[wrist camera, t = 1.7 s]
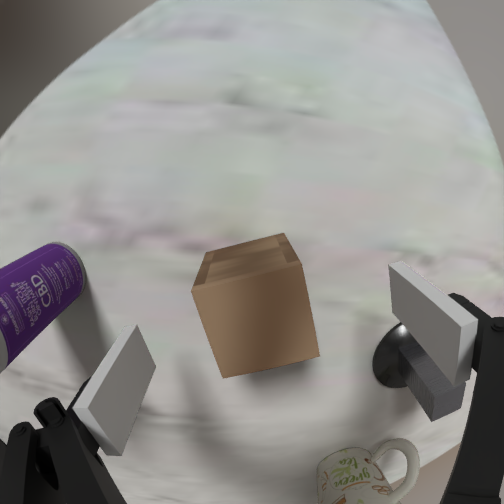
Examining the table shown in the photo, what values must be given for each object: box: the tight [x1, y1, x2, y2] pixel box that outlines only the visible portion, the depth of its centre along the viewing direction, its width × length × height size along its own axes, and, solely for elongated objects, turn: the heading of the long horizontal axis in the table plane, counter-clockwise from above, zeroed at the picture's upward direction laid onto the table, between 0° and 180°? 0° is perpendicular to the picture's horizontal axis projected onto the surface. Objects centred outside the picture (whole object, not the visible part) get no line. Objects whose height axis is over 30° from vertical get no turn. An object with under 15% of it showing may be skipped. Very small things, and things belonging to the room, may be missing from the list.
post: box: [373, 322, 466, 422], centre depth 21 cm, size 7×7×7 cm
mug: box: [317, 438, 420, 504], centre depth 22 cm, size 8×13×10 cm, turn 154°
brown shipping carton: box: [191, 233, 320, 378], centre depth 19 cm, size 5×5×7 cm
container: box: [0, 242, 86, 373], centre depth 14 cm, size 5×5×15 cm
